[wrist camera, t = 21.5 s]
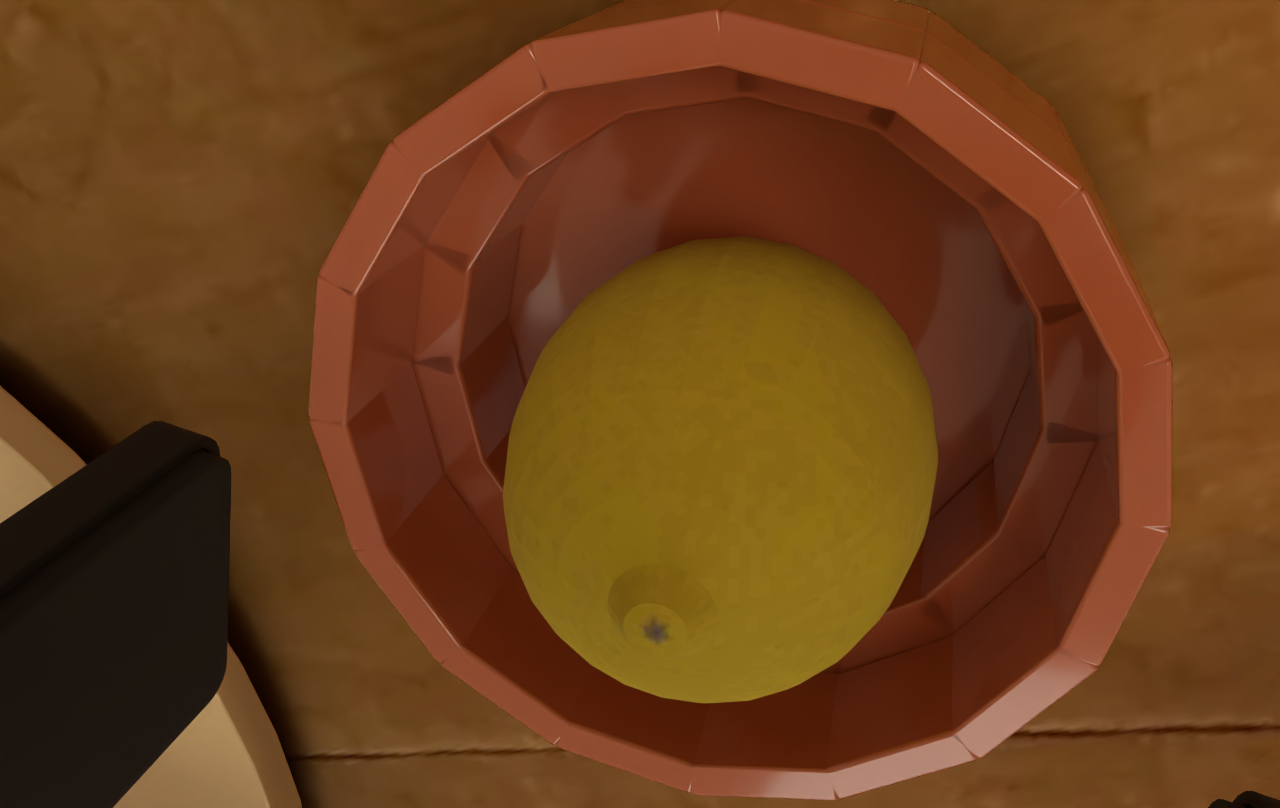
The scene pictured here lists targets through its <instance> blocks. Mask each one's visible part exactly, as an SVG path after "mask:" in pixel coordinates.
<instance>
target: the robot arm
mask: <svg viewBox="0 0 1280 808" xmlns="http://www.w3.org/2000/svg"><path fill="white" fill-rule="evenodd" d="M230 509H231V466H230V464H229V462H228V460H226V459H224V458H222V457H220V452H219V447H218V445H217V443H216V441H214V440H213V439H211V438H210V437H207V436H204V435H201V434H198V433H195V432H192V431H189V430H186V429H183V428H180V427H177V426H174V425H171V424H168V423H166V422H163V421H153V422H151V423H149V424H147V425H145V426H143V427H142V428H140V429H139V430H137V431H136V432H135V433H133V434H132V435H130V436H129V437H127V438H126V439H124V440H123V441H121V442H120V443H118V444H117V445H115V446H114V447H112V448H111V449H109V450H108V451H106V452H105V453H103V454H102V455H101V456H99V457H98V458H96V459H95V460H93V461H92V462H90V463H89V464H87V465H86V466H84V467H83V468H81V469H80V470H78V471H77V472H75V473H74V474H72V475H71V476H69V477H68V478H67V479H65V480H64V481H62V482H61V483H59V484H58V485H56V486H55V487H53V488H52V489H50V490H49V491H47V492H46V493H44V494H43V495H41V496H40V497H38V498H37V499H35V500H34V501H33V502H31V503H30V504H28V505H27V506H25V507H24V508H22V509H21V510H19V511H18V512H16V513H15V514H13V515H12V516H10V517H9V518H7V519H6V520H4V521H3V522H1V523H0V808H113V807H114V806H115V805H116V804H117V803H118V802H119V800H120V799H121V798H122V797H123V796H124V795H125V794H126V793H127V792H128V791H129V790H130V788H131V787H132V786H133V785H134V784H135V783H136V782H137V781H138V780H139V779H140V778H141V777H142V775H143V774H144V773H145V772H146V771H147V770H148V769H149V768H150V767H151V766H152V765H153V763H154V762H155V761H156V760H157V759H158V758H159V757H160V756H161V755H162V754H163V753H164V751H165V750H166V749H167V748H168V747H169V746H170V745H171V744H172V743H173V742H174V741H175V740H176V738H177V737H178V736H179V735H180V734H181V733H182V732H183V731H184V730H185V729H186V728H187V726H188V725H189V724H190V723H191V722H192V721H193V720H194V719H195V718H196V717H197V716H198V714H199V713H200V712H201V711H202V710H203V709H204V708H205V707H206V706H207V705H208V704H209V702H210V701H211V700H212V699H213V697H214V696H215V694H216V693H217V691H218V689H219V688H220V685H221V683H222V681H223V678H224V675H225V672H226V666H227V639H228V596H229V552H230ZM1208 808H1280V800H1277V799H1274V798H1271V797H1268V796H1265V795H1262V794H1259V793H1257V792H1254V791H1245V792H1243V793H1241V794H1240V795H1238V796H1237V797H1236V799H1235V800H1234V801H1233V802H1229V801H1226V800H1223V799H1217V800H1216V801H1214V802H1212V804H1211V805H1210V806H1209V807H1208Z"/></svg>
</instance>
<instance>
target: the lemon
mask: <svg viewBox="0 0 1280 808" xmlns="http://www.w3.org/2000/svg"><path fill="white" fill-rule="evenodd" d="M937 466H938V445H937V437H936V429H935V421H934V413H933V405H932V398H931V393H930V388H929V386H928V384H927V381H926V379H925V377H924V374H923V372H922V370H921V367H920V365H919V363H918V361H917V358H916V356H915V354H914V351H913V349H912V347H911V344H910V342H909V340H908V337H907V335H906V334H905V333H904V331H903V330H902V329H901V327H900V326H899V325H898V324H897V322H896V321H895V320H894V319H893V317H892V316H891V315H890V314H889V312H888V311H887V310H886V308H885V307H884V306H883V305H882V303H881V302H880V301H879V300H878V298H877V297H876V296H875V295H874V293H873V292H872V291H870V290H869V289H868V288H866V287H865V286H864V285H863V284H861V283H860V282H859V281H857V280H856V279H855V278H853V277H852V276H851V275H849V274H848V273H847V272H846V271H844V270H843V269H842V268H840V267H839V266H838V265H836V264H835V263H833V262H831V261H828V260H826V259H824V258H821V257H819V256H817V255H814V254H812V253H810V252H807V251H805V250H803V249H800V248H798V247H796V246H793V245H791V244H786V243H780V242H774V241H768V240H762V239H756V238H750V237H744V236H741V237H728V238H715V239H702V240H693V241H689V242H686V243H683V244H680V245H677V246H674V247H671V248H669V249H666V250H663V251H660V252H657V253H654V254H651V255H648V256H646V257H644V258H641V259H639V260H637V261H636V262H634V263H633V264H631V265H630V266H628V267H627V268H625V269H624V270H622V271H621V272H619V273H618V274H617V275H615V276H614V277H612V278H611V279H609V280H608V281H606V282H605V283H603V284H602V285H600V286H599V287H598V288H596V289H595V290H594V291H592V292H591V293H590V294H588V295H587V296H586V297H585V298H584V300H583V301H582V302H581V303H580V304H579V305H578V306H577V307H576V309H575V310H574V311H573V312H572V313H571V315H570V316H569V317H568V318H567V319H566V321H565V322H564V323H563V324H562V325H561V327H560V328H559V329H558V330H557V331H556V333H555V334H554V335H553V336H552V337H551V339H550V340H549V341H548V343H547V344H546V346H545V347H544V349H543V350H542V352H541V354H540V356H539V358H538V360H537V362H536V364H535V366H534V369H533V371H532V374H531V376H530V378H529V381H528V383H527V385H526V388H525V390H524V393H523V395H522V397H521V400H520V402H519V405H518V407H517V410H516V413H515V416H514V419H513V422H512V426H511V430H510V435H509V442H508V451H507V460H506V469H505V478H504V487H503V505H504V514H505V521H506V527H507V533H508V539H509V545H510V551H511V554H512V557H513V559H514V562H515V564H516V567H517V569H518V571H519V573H520V576H521V578H522V580H523V582H524V585H525V587H526V589H527V591H528V594H529V596H530V598H531V600H532V602H533V603H534V605H535V606H536V607H537V609H538V610H539V611H540V613H541V614H542V615H543V617H544V618H545V619H546V621H547V622H548V623H549V625H550V626H551V627H552V629H553V630H554V631H555V633H556V634H557V635H558V636H559V637H560V638H561V639H562V640H563V641H565V642H566V643H567V644H568V645H569V646H570V647H571V648H572V649H574V650H575V651H576V652H577V653H578V654H579V655H580V656H581V657H583V658H584V659H585V660H586V661H587V662H588V663H589V664H591V665H592V666H594V667H595V668H597V669H599V670H600V671H602V672H604V673H606V674H607V675H609V676H611V677H612V678H614V679H616V680H618V681H619V682H621V683H623V684H625V685H627V686H630V687H633V688H636V689H639V690H642V691H644V692H647V693H650V694H653V695H656V696H659V697H662V698H668V699H675V700H682V701H689V702H696V703H721V702H737V701H750V700H753V699H757V698H760V697H764V696H767V695H770V694H774V693H777V692H781V691H784V690H787V689H790V688H792V687H794V686H796V685H799V684H801V683H802V682H804V681H806V680H808V679H809V678H811V677H813V676H814V675H816V674H818V673H819V672H821V671H823V670H825V669H826V668H828V667H830V666H831V665H833V664H835V663H837V662H838V661H839V660H840V659H841V658H842V657H843V656H845V655H846V654H847V653H848V652H849V651H850V650H851V649H852V648H853V647H854V646H855V645H856V644H857V643H858V642H859V641H860V640H861V638H862V637H863V636H864V635H865V634H866V633H867V632H868V631H869V630H870V629H871V628H872V627H873V626H874V625H875V624H876V623H877V622H878V621H879V620H880V618H881V617H882V616H883V614H884V613H885V612H886V610H887V609H888V608H889V606H890V604H891V602H892V601H893V599H894V597H895V595H896V594H897V592H898V590H899V588H900V586H901V584H902V582H903V580H904V578H905V576H906V574H907V572H908V570H909V568H910V566H911V564H912V562H913V560H914V558H915V556H916V554H917V552H918V550H919V547H920V545H921V543H922V540H923V538H924V535H925V531H926V528H927V525H928V520H929V514H930V508H931V503H932V497H933V491H934V485H935V480H936V473H937Z"/></svg>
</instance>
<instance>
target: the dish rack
mask: <svg viewBox="0 0 1280 808" xmlns="http://www.w3.org/2000/svg"><path fill="white" fill-rule="evenodd" d="M86 465H87V464H86V463H85V462H84V461H83V460H82V459H81V458H80V457H79V456H78V455H77V454H76V453H75V452H74V451H73V450H72V449H71V448H70V447H69V446H68V445H67V444H66V443H64V442H63V441H62V440H61V439H60V438H59V437H58V436H57V435H55V434H54V433H53V432H52V431H51V430H50V429H49V428H48V427H46V426H45V425H44V424H43V423H42V422H41V421H40V420H39V419H37V418H36V417H35V416H34V415H33V414H32V413H31V412H30V411H28V410H27V409H26V408H25V407H24V406H23V405H22V404H21V403H19V402H18V401H17V400H16V399H15V398H14V397H13V396H12V395H10V394H9V393H8V392H7V391H6V390H5V389H4V388H3V387H1V386H0V523H1V522H3V521H4V520H6V519H7V518H9V517H10V516H12V515H13V514H15V513H16V512H18V511H19V510H21V509H22V508H24V507H25V506H27V505H28V504H30V503H31V502H33V501H34V500H35V499H37V498H38V497H40V496H41V495H43V494H44V493H46V492H47V491H49V490H50V489H52V488H53V487H55V486H56V485H58V484H59V483H61V482H62V481H64V480H65V479H67V478H68V477H69V476H71V475H72V474H74V473H75V472H77V471H78V470H80V469H81V468H83V467H84V466H86ZM113 808H302V804H301V799H300V797H299V794H298V791H297V788H296V786H295V783H294V780H293V777H292V774H291V772H290V769H289V766H288V763H287V760H286V758H285V755H284V752H283V749H282V747H281V744H280V741H279V738H278V735H277V733H276V731H275V729H274V727H273V725H272V723H271V721H270V719H269V717H268V715H267V713H266V711H265V709H264V707H263V705H262V703H261V701H260V699H259V697H258V695H257V693H256V691H255V689H254V687H253V685H252V683H251V681H250V679H249V677H248V675H247V673H246V671H245V669H244V667H243V665H242V663H241V662H240V660H239V659H238V657H237V656H236V654H235V653H234V651H233V649H232V648H231V646H230V645H229V643H228V642H227V666H226V672H225V675H224V678H223V681H222V683H221V685H220V688H219V689H218V691H217V693H216V694H215V696H214V697H213V699H212V700H211V701H210V702H209V704H208V705H207V706H206V707H205V708H204V709H203V710H202V711H201V712H200V713H199V714H198V716H197V717H196V718H195V719H194V720H193V721H192V722H191V723H190V724H189V725H188V726H187V728H186V729H185V730H184V731H183V732H182V733H181V734H180V735H179V736H178V737H177V738H176V740H175V741H174V742H173V743H172V744H171V745H170V746H169V747H168V748H167V749H166V750H165V751H164V753H163V754H162V755H161V756H160V757H159V758H158V759H157V760H156V761H155V762H154V763H153V765H152V766H151V767H150V768H149V769H148V770H147V771H146V772H145V773H144V774H143V775H142V777H141V778H140V779H139V780H138V781H137V782H136V783H135V784H134V785H133V786H132V787H131V788H130V790H129V791H128V792H127V793H126V794H125V795H124V796H123V797H122V798H121V799H120V800H119V802H118V803H117V804H116V805H115V806H114V807H113Z"/></svg>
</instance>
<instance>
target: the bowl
mask: <svg viewBox="0 0 1280 808" xmlns="http://www.w3.org/2000/svg"><path fill="white" fill-rule="evenodd" d="M741 236H744V237H750V238H756V239H762V240H768V241H774V242H780V243H786V244H791V245H793V246H796V247H798V248H800V249H803V250H805V251H807V252H810V253H812V254H814V255H817V256H819V257H821V258H824V259H826V260H828V261H831V262H833V263H835V264H836V265H838V266H839V267H840V268H842V269H843V270H844V271H846V272H847V273H848V274H849V275H851V276H852V277H853V278H855V279H856V280H857V281H859V282H860V283H861V284H863V285H864V286H865V287H866V288H868V289H869V290H870V291H872V292H873V293H874V295H875V296H876V297H877V298H878V300H879V301H880V302H881V303H882V305H883V306H884V307H885V308H886V310H887V311H888V312H889V314H890V315H891V316H892V317H893V319H894V320H895V321H896V322H897V324H898V325H899V326H900V327H901V329H902V330H903V331H904V333H905V334H906V335H907V337H908V340H909V342H910V344H911V347H912V349H913V351H914V354H915V356H916V358H917V361H918V363H919V365H920V367H921V370H922V372H923V374H924V377H925V379H926V381H927V384H928V386H929V388H930V393H931V398H932V405H933V413H934V421H935V429H936V437H937V445H938V466H937V473H936V480H935V485H934V491H933V497H932V503H931V508H930V514H929V520H928V525H927V528H926V531H925V535H924V538H923V540H922V543H921V545H920V547H919V550H918V552H917V554H916V556H915V558H914V560H913V562H912V564H911V566H910V568H909V570H908V572H907V574H906V576H905V578H904V580H903V582H902V584H901V586H900V588H899V590H898V592H897V594H896V595H895V597H894V599H893V601H892V602H891V604H890V606H889V608H888V609H887V610H886V612H885V613H884V614H883V616H882V617H881V618H880V620H879V621H878V622H877V623H876V624H875V625H874V626H873V627H872V628H871V629H870V630H869V631H868V632H867V633H866V634H865V635H864V636H863V637H862V638H861V640H860V641H859V642H858V643H857V644H856V645H855V646H854V647H853V648H852V649H851V650H850V651H849V652H848V653H847V654H846V655H845V656H843V657H842V658H841V659H840V660H839V661H838V662H837V663H835V664H833V665H831V666H830V667H828V668H826V669H825V670H823V671H821V672H819V673H818V674H816V675H814V676H813V677H811V678H809V679H808V680H806V681H804V682H802V683H801V684H799V685H796V686H794V687H792V688H790V689H787V690H784V691H781V692H777V693H774V694H770V695H767V696H764V697H760V698H757V699H753V700H750V701H737V702H721V703H696V702H689V701H682V700H675V699H668V698H662V697H659V696H656V695H653V694H650V693H647V692H644V691H642V690H639V689H636V688H633V687H630V686H627V685H625V684H623V683H621V682H619V681H618V680H616V679H614V678H612V677H611V676H609V675H607V674H606V673H604V672H602V671H600V670H599V669H597V668H595V667H594V666H592V665H591V664H589V663H588V662H587V661H586V660H585V659H584V658H583V657H581V656H580V655H579V654H578V653H577V652H576V651H575V650H574V649H572V648H571V647H570V646H569V645H568V644H567V643H566V642H565V641H563V640H562V639H561V638H560V637H559V636H558V635H557V634H556V633H555V631H554V630H553V629H552V627H551V626H550V625H549V623H548V622H547V621H546V619H545V618H544V617H543V615H542V614H541V613H540V611H539V610H538V609H537V607H536V606H535V605H534V603H533V602H532V600H531V598H530V596H529V594H528V591H527V589H526V587H525V585H524V582H523V580H522V578H521V576H520V573H519V571H518V569H517V567H516V564H515V562H514V559H513V557H512V554H511V551H510V545H509V539H508V533H507V527H506V521H505V514H504V505H503V487H504V478H505V469H506V460H507V451H508V442H509V435H510V430H511V426H512V422H513V419H514V416H515V413H516V410H517V407H518V405H519V402H520V400H521V397H522V395H523V393H524V390H525V388H526V385H527V383H528V381H529V378H530V376H531V374H532V371H533V369H534V366H535V364H536V362H537V360H538V358H539V356H540V354H541V352H542V350H543V349H544V347H545V346H546V344H547V343H548V341H549V340H550V339H551V337H552V336H553V335H554V334H555V333H556V331H557V330H558V329H559V328H560V327H561V325H562V324H563V323H564V322H565V321H566V319H567V318H568V317H569V316H570V315H571V313H572V312H573V311H574V310H575V309H576V307H577V306H578V305H579V304H580V303H581V302H582V301H583V300H584V298H585V297H586V296H587V295H588V294H590V293H591V292H592V291H594V290H595V289H596V288H598V287H599V286H600V285H602V284H603V283H605V282H606V281H608V280H609V279H611V278H612V277H614V276H615V275H617V274H618V273H619V272H621V271H622V270H624V269H625V268H627V267H628V266H630V265H631V264H633V263H634V262H636V261H637V260H639V259H641V258H644V257H646V256H648V255H651V254H654V253H657V252H660V251H663V250H666V249H669V248H671V247H674V246H677V245H680V244H683V243H686V242H689V241H693V240H702V239H715V238H728V237H741ZM1172 367H1173V363H1172V360H1171V358H1170V350H1169V348H1168V346H1167V344H1166V341H1165V339H1164V337H1163V334H1162V332H1161V330H1160V327H1159V325H1158V323H1157V320H1156V318H1155V316H1154V313H1153V311H1152V309H1151V306H1150V304H1149V302H1148V299H1147V297H1146V295H1145V292H1144V290H1143V288H1142V286H1141V284H1140V281H1139V279H1138V276H1137V274H1136V272H1135V269H1134V267H1133V265H1132V262H1131V260H1130V258H1129V255H1128V253H1127V251H1126V248H1125V246H1124V244H1123V241H1122V239H1121V237H1120V234H1119V232H1118V230H1117V228H1116V226H1115V225H1114V223H1113V221H1112V219H1111V217H1110V215H1109V213H1108V211H1107V209H1106V207H1105V205H1104V203H1103V201H1102V199H1101V197H1100V195H1099V193H1098V191H1097V189H1096V187H1095V185H1094V183H1093V181H1092V179H1091V177H1090V175H1089V173H1088V171H1087V169H1086V167H1085V165H1084V163H1083V161H1082V159H1081V157H1080V155H1079V153H1078V151H1077V149H1076V147H1075V146H1074V144H1073V142H1072V140H1071V138H1070V136H1069V134H1068V132H1067V130H1066V128H1065V126H1064V124H1063V122H1062V120H1061V118H1060V116H1059V114H1058V113H1057V112H1056V111H1055V110H1053V108H1052V106H1051V104H1050V103H1049V102H1048V101H1047V100H1046V99H1044V98H1043V97H1042V96H1040V95H1039V94H1038V93H1037V92H1035V91H1034V90H1033V89H1031V88H1030V87H1029V86H1028V85H1026V84H1025V83H1024V82H1023V81H1021V80H1020V79H1019V78H1017V77H1016V76H1015V75H1014V74H1012V73H1011V72H1010V71H1008V70H1007V69H1006V68H1005V67H1003V66H1002V65H1001V64H1000V63H998V62H997V61H996V60H994V59H993V58H992V57H991V56H989V55H988V54H987V53H985V52H984V51H983V50H982V49H980V48H979V47H978V46H977V45H975V44H974V43H973V42H971V41H970V40H969V39H968V38H966V37H965V36H964V35H962V34H961V33H960V32H959V31H957V30H956V29H955V28H954V27H952V26H951V25H950V24H948V23H947V22H946V21H945V20H943V19H942V18H941V17H939V16H938V15H937V14H936V13H932V12H930V13H929V10H927V9H926V8H923V7H919V6H915V5H911V4H907V3H903V2H899V1H895V0H626V1H623V2H621V3H618V4H616V5H614V6H612V7H609V8H607V9H605V10H603V11H600V12H598V13H596V14H593V15H591V16H589V17H586V18H584V19H582V20H579V21H577V22H575V23H572V24H570V25H568V26H566V27H563V28H561V29H559V30H557V31H554V32H552V33H550V34H547V35H545V36H543V37H541V38H538V39H536V40H534V41H532V42H530V43H527V44H525V45H524V46H522V47H521V48H520V49H518V50H517V51H515V52H514V53H513V54H511V55H510V56H508V57H507V58H505V59H504V60H503V61H501V62H500V63H498V64H497V65H496V66H494V67H493V68H491V69H490V70H488V71H487V72H486V73H484V74H483V75H481V76H480V77H479V78H477V79H476V80H474V81H473V82H472V83H470V84H469V85H467V86H466V87H464V88H463V89H462V90H460V91H459V92H457V93H456V94H455V95H453V96H452V97H450V98H449V99H447V100H446V101H445V102H443V103H442V104H440V105H439V106H438V107H436V108H435V109H433V110H432V111H430V112H429V113H428V114H426V115H425V116H423V117H422V118H421V119H419V120H418V121H416V122H415V123H413V124H412V125H411V126H409V127H408V128H406V129H405V130H404V131H402V132H401V133H399V134H398V135H396V136H395V138H394V140H393V141H392V142H390V143H389V144H388V146H387V147H386V149H385V151H384V153H383V155H382V157H381V158H380V160H379V162H378V164H377V166H376V168H375V169H374V171H373V173H372V175H371V177H370V179H369V180H368V182H367V184H366V186H365V188H364V190H363V191H362V193H361V195H360V197H359V199H358V201H357V202H356V204H355V206H354V208H353V210H352V212H351V213H350V215H349V217H348V219H347V221H346V223H345V224H344V226H343V228H342V230H341V232H340V234H339V236H338V237H337V239H336V241H335V243H334V245H333V247H332V248H331V250H330V252H329V254H328V256H327V258H326V259H325V261H324V263H323V265H322V267H321V269H320V271H319V276H318V278H317V288H316V304H315V319H314V335H313V351H312V367H311V382H310V398H309V414H308V415H309V417H310V418H311V419H310V425H311V428H312V431H313V434H314V437H315V440H316V443H317V446H318V449H319V452H320V455H321V458H322V461H323V464H324V467H325V470H326V473H327V476H328V479H329V482H330V485H331V488H332V491H333V494H334V497H335V500H336V503H337V506H338V509H339V512H340V515H341V518H342V521H343V524H344V527H345V530H346V533H347V536H348V539H349V542H350V545H351V548H352V549H353V550H354V551H355V555H356V557H357V558H358V559H359V561H360V562H361V563H362V565H363V566H364V567H365V569H366V570H367V571H368V572H369V574H370V575H371V576H372V578H373V579H374V580H375V582H376V583H377V584H378V586H379V587H380V588H381V589H382V591H383V592H384V593H385V595H386V596H387V597H388V599H389V600H390V601H391V602H392V604H393V605H394V606H395V608H396V609H397V610H398V612H399V613H400V614H401V615H402V617H403V618H404V619H405V621H406V622H407V623H408V625H409V626H410V627H411V628H412V630H413V631H414V632H415V634H416V635H417V636H418V638H419V639H420V640H421V642H422V643H423V644H424V645H425V647H426V648H427V649H428V651H429V652H430V653H431V655H432V656H433V657H434V658H435V660H436V661H438V662H441V665H442V667H444V668H445V669H447V670H448V671H449V672H451V673H452V674H454V675H455V676H456V677H458V678H459V679H461V680H462V681H463V682H465V683H466V684H468V685H469V686H470V687H472V688H473V689H475V690H476V691H477V692H479V693H480V694H482V695H483V696H485V697H486V698H487V699H489V700H490V701H492V702H493V703H494V704H496V705H497V706H499V707H500V708H501V709H503V710H504V711H506V712H507V713H508V714H510V715H511V716H513V717H514V718H516V719H517V720H518V721H520V722H521V723H523V724H524V725H525V726H527V727H528V728H530V729H531V730H532V731H534V732H535V733H537V734H538V735H539V736H541V737H542V738H544V739H545V740H546V741H548V742H549V743H551V744H553V745H555V744H557V747H559V748H561V749H563V750H566V751H569V752H572V753H575V754H578V755H581V756H584V757H587V758H589V759H592V760H595V761H598V762H601V763H604V764H607V765H610V766H613V767H615V768H618V769H621V770H624V771H627V772H630V773H633V774H636V775H638V776H641V777H644V778H647V779H650V780H653V781H656V782H659V783H662V784H664V785H667V786H670V787H673V788H676V789H679V790H682V791H685V792H691V791H692V794H694V795H712V796H736V797H760V798H783V799H807V800H831V801H835V800H837V798H839V799H843V798H847V797H850V796H854V795H857V794H861V793H864V792H867V791H871V790H874V789H878V788H881V787H885V786H888V785H892V784H895V783H899V782H902V781H906V780H909V779H913V778H916V777H920V776H923V775H927V774H930V773H934V772H937V771H941V770H944V769H948V768H951V767H955V766H958V765H962V764H965V763H969V762H972V761H975V760H976V759H977V758H983V757H984V756H985V755H987V754H988V753H989V752H991V751H992V750H993V749H995V748H996V747H997V746H999V745H1000V744H1001V743H1002V742H1004V741H1005V740H1006V739H1008V738H1009V737H1010V736H1012V735H1013V734H1014V733H1016V732H1017V731H1018V730H1019V729H1021V728H1022V727H1023V726H1025V725H1026V724H1027V723H1029V722H1030V721H1031V720H1033V719H1034V718H1035V717H1036V716H1038V715H1039V714H1040V713H1042V712H1043V711H1044V710H1046V709H1047V708H1048V707H1050V706H1051V705H1052V704H1053V703H1055V702H1056V701H1057V700H1059V699H1060V698H1061V697H1063V696H1064V695H1065V694H1067V693H1068V692H1069V691H1070V690H1072V689H1073V688H1074V687H1076V686H1077V685H1078V684H1080V683H1081V682H1082V681H1084V680H1085V679H1086V678H1087V677H1089V676H1090V675H1091V674H1093V673H1094V672H1095V671H1096V670H1097V668H1098V666H1099V665H1100V664H1101V663H1102V661H1103V659H1104V657H1105V655H1106V653H1107V651H1108V649H1109V648H1110V646H1111V644H1112V642H1113V640H1114V638H1115V636H1116V634H1117V632H1118V630H1119V628H1120V626H1121V625H1122V623H1123V621H1124V619H1125V617H1126V615H1127V613H1128V611H1129V609H1130V607H1131V605H1132V603H1133V602H1134V600H1135V598H1136V596H1137V594H1138V592H1139V590H1140V588H1141V586H1142V584H1143V582H1144V580H1145V579H1146V577H1147V575H1148V573H1149V571H1150V569H1151V567H1152V565H1153V563H1154V561H1155V559H1156V558H1157V556H1158V554H1159V552H1160V550H1161V548H1162V546H1163V544H1164V542H1165V540H1166V538H1167V536H1168V535H1169V533H1170V528H1169V527H1170V526H1171V524H1172Z"/></svg>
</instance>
